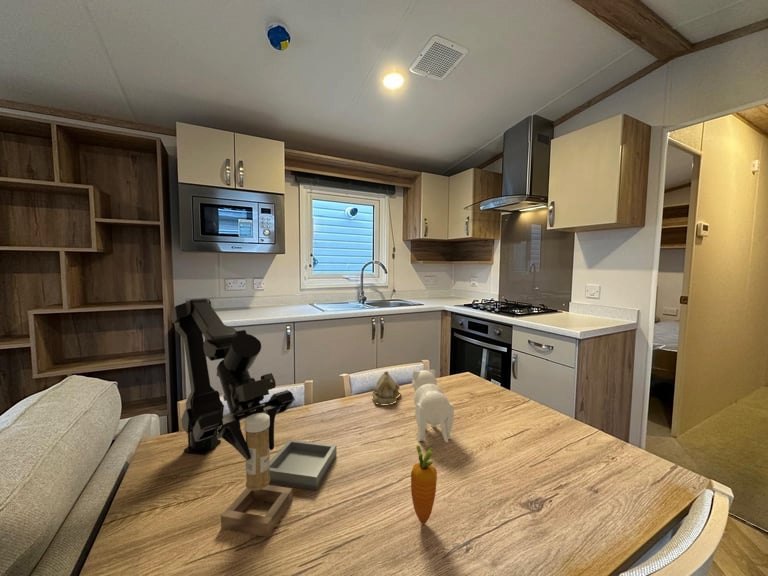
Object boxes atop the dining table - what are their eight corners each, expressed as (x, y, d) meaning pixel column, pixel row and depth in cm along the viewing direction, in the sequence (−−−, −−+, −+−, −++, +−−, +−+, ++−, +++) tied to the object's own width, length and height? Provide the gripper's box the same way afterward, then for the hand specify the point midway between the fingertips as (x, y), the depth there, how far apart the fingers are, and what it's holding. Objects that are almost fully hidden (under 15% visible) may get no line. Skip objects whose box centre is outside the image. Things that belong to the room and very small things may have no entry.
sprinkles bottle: (272, 486, 63) (272, 419, 62) (247, 495, 60) (247, 425, 59) (267, 473, 66) (266, 410, 65) (243, 481, 64) (242, 415, 63)
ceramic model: (372, 390, 128) (372, 366, 127) (401, 391, 127) (401, 366, 127) (369, 406, 114) (370, 378, 113) (401, 406, 113) (401, 379, 113)
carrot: (408, 514, 64) (409, 441, 63) (432, 513, 64) (434, 440, 63) (412, 535, 59) (413, 456, 58) (439, 533, 59) (440, 455, 58)
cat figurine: (467, 456, 84) (468, 393, 82) (428, 460, 81) (429, 396, 80) (433, 413, 108) (434, 364, 107) (403, 416, 106) (403, 366, 105)
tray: (262, 482, 73) (262, 469, 73) (289, 450, 85) (289, 439, 85) (316, 490, 70) (316, 477, 70) (336, 456, 83) (336, 444, 83)
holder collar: (221, 528, 60) (220, 515, 60) (251, 493, 69) (251, 482, 69) (267, 537, 58) (267, 524, 58) (292, 499, 67) (292, 488, 67)
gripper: (195, 373, 58) (219, 459, 51) (290, 354, 71) (319, 419, 64) (184, 402, 64) (204, 482, 57) (273, 379, 77) (298, 442, 70)
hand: (261, 454), depth 62 cm, fingers closed on sprinkles bottle, 4 cm apart
